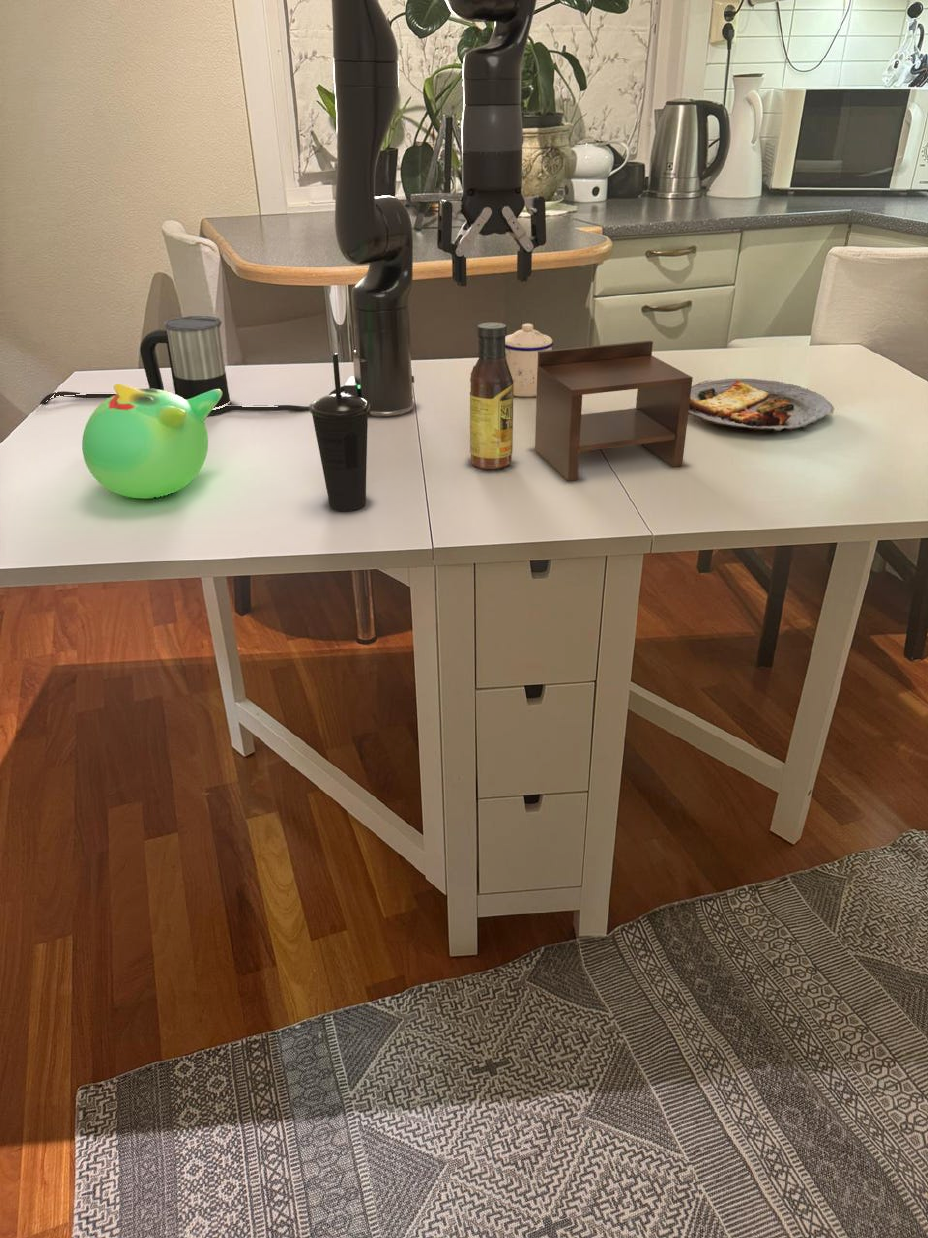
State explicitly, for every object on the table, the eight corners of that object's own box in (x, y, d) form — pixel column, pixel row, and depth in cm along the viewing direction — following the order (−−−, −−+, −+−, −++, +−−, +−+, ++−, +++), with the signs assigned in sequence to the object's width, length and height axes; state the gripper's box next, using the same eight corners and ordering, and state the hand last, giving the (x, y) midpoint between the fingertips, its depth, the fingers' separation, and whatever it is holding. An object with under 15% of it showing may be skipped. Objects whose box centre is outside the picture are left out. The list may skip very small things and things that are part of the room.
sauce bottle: (508, 472, 131) (510, 331, 121) (466, 469, 132) (464, 330, 122) (515, 456, 137) (518, 320, 126) (474, 454, 138) (473, 319, 128)
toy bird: (123, 466, 135) (102, 367, 127) (236, 466, 134) (221, 367, 127) (75, 517, 119) (47, 408, 112) (202, 517, 119) (183, 407, 111)
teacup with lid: (539, 380, 170) (541, 316, 164) (559, 394, 163) (562, 327, 157) (479, 387, 167) (478, 322, 161) (496, 402, 159) (496, 334, 153)
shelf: (567, 481, 128) (573, 375, 120) (534, 450, 139) (537, 350, 131) (682, 465, 133) (694, 362, 125) (641, 436, 143) (650, 340, 136)
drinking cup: (385, 496, 124) (376, 348, 114) (362, 519, 118) (350, 364, 108) (334, 490, 126) (321, 344, 116) (309, 511, 120) (292, 359, 110)
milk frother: (230, 398, 163) (218, 312, 155) (241, 425, 150) (227, 334, 143) (148, 407, 159) (131, 320, 152) (151, 436, 146) (132, 342, 139)
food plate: (769, 450, 137) (773, 428, 136) (647, 414, 153) (649, 393, 151) (854, 414, 151) (858, 393, 150) (734, 384, 167) (737, 365, 165)
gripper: (534, 142, 118) (531, 274, 126) (428, 146, 114) (433, 281, 123) (556, 146, 112) (552, 284, 120) (445, 150, 108) (448, 292, 117)
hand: (491, 283), depth 121 cm, fingers open, 8 cm apart
